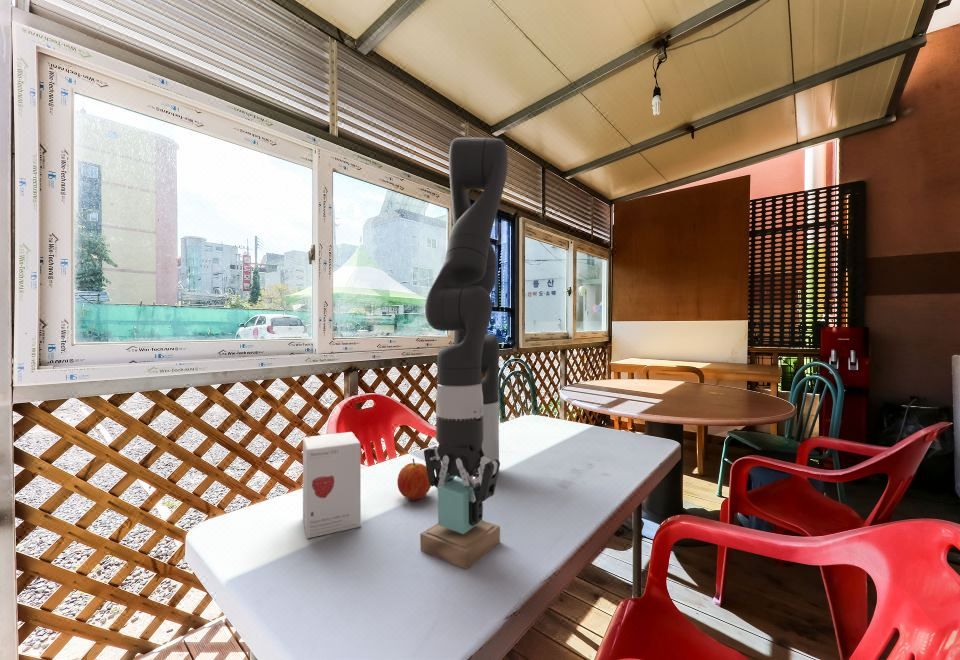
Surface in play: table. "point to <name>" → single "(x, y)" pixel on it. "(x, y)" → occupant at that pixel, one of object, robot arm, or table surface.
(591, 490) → the table surface
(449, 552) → the walnut base
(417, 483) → the fruit
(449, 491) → the teal block
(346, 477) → the supplement box
